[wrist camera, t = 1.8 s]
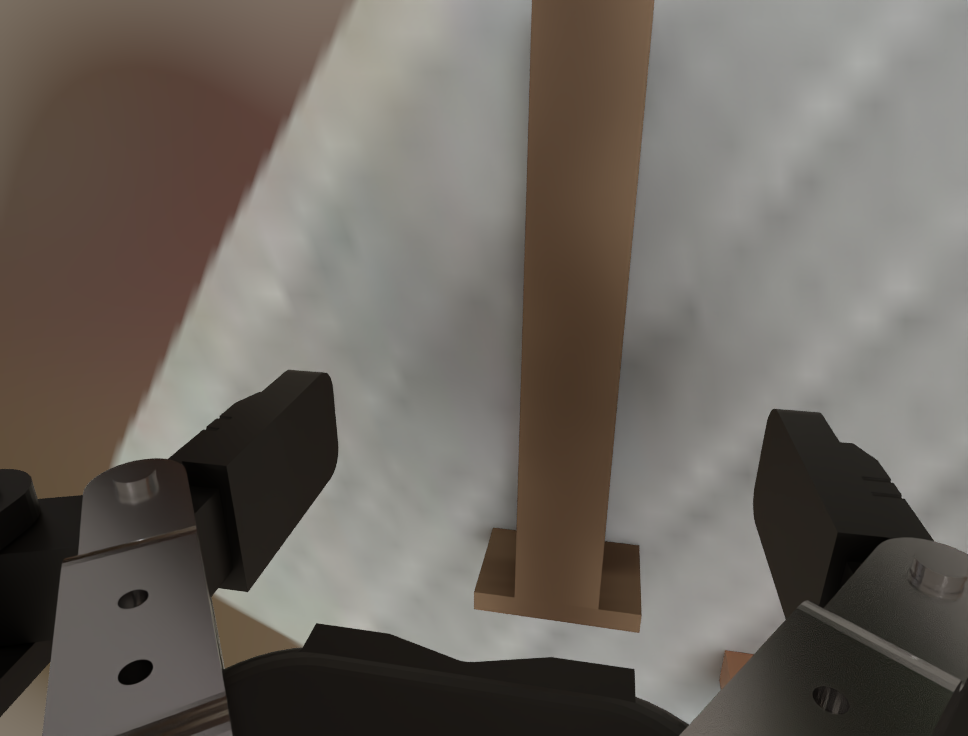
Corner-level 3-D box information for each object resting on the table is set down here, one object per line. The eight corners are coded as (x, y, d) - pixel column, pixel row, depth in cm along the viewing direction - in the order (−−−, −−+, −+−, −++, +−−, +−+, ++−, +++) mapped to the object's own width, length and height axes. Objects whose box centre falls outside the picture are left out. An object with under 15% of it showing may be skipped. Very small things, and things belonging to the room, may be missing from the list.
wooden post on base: (701, 9, 20) (719, -9, 16) (637, 560, 27) (639, 633, 24) (499, 11, 21) (473, -5, 17) (493, 542, 28) (474, 608, 25)
